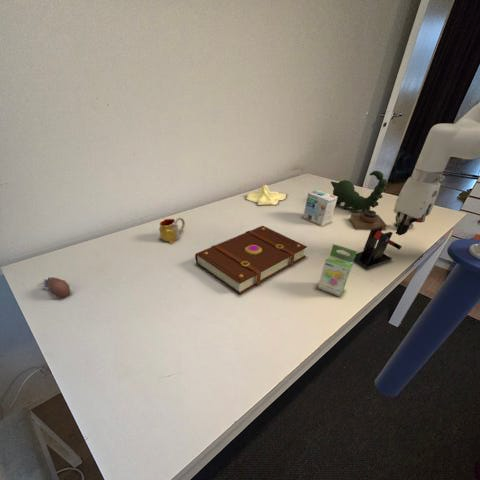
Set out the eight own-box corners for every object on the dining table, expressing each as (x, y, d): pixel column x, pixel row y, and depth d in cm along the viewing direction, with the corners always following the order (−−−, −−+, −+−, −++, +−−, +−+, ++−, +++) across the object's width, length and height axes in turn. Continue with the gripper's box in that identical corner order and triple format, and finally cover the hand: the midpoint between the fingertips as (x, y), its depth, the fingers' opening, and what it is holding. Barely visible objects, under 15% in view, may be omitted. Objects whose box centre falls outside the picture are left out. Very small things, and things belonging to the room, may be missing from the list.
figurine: (42, 291, 79) (58, 303, 73) (32, 276, 76) (48, 287, 70) (60, 283, 82) (77, 293, 76) (51, 268, 79) (68, 277, 73)
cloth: (265, 208, 123) (267, 195, 119) (238, 197, 132) (238, 184, 128) (294, 197, 134) (296, 184, 130) (267, 188, 144) (268, 175, 139)
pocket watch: (412, 224, 114) (424, 200, 107) (412, 232, 109) (425, 208, 101) (392, 220, 116) (402, 197, 109) (391, 228, 111) (402, 204, 104)
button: (372, 214, 112) (374, 210, 111) (375, 218, 109) (377, 214, 108) (363, 214, 112) (364, 210, 111) (366, 218, 109) (367, 213, 108)
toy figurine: (374, 216, 123) (330, 196, 134) (396, 173, 109) (344, 155, 120) (365, 222, 118) (320, 201, 129) (386, 178, 104) (333, 158, 115)
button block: (376, 219, 117) (380, 210, 114) (384, 230, 110) (388, 220, 107) (349, 219, 117) (352, 210, 114) (356, 229, 110) (359, 219, 107)
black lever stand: (372, 250, 97) (384, 222, 90) (390, 261, 92) (404, 232, 85) (349, 258, 93) (359, 229, 85) (366, 269, 88) (379, 240, 81)
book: (305, 257, 93) (308, 245, 89) (240, 295, 77) (241, 281, 74) (260, 234, 104) (260, 222, 101) (195, 263, 89) (193, 250, 85)
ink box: (316, 288, 80) (328, 249, 71) (321, 282, 83) (333, 243, 73) (339, 297, 77) (353, 257, 68) (343, 290, 80) (358, 251, 70)
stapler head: (384, 243, 96) (389, 237, 95) (398, 251, 93) (403, 245, 91) (368, 234, 88) (373, 227, 87) (383, 242, 84) (388, 235, 83)
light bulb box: (302, 217, 117) (307, 192, 109) (312, 214, 120) (317, 189, 112) (321, 226, 111) (328, 200, 103) (331, 222, 114) (338, 196, 107)
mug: (170, 244, 98) (166, 227, 93) (157, 239, 100) (153, 222, 96) (192, 233, 104) (190, 216, 100) (180, 228, 107) (177, 212, 103)
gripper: (458, 180, 74) (427, 240, 87) (411, 167, 84) (389, 223, 97) (442, 185, 72) (412, 245, 85) (396, 171, 81) (375, 227, 94)
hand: (400, 233), depth 91 cm, fingers closed
